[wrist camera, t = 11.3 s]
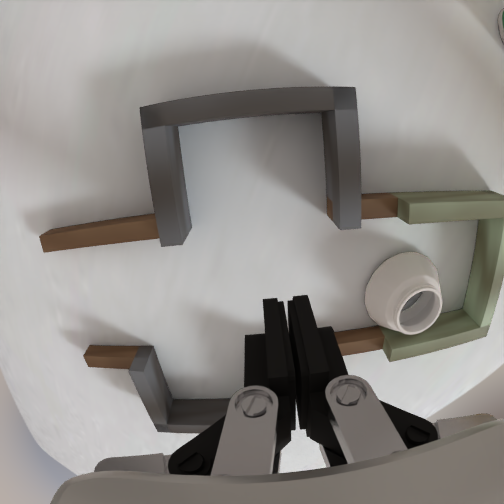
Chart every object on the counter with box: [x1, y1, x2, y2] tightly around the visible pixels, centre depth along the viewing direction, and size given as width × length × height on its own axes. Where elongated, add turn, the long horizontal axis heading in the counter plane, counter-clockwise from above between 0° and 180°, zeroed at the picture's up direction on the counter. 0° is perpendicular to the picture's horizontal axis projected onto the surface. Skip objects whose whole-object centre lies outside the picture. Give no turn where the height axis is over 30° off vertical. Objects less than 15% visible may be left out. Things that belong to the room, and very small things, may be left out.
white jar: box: [365, 252, 442, 335], centre depth 16 cm, size 5×3×5 cm
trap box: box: [39, 87, 504, 433], centre depth 16 cm, size 20×28×2 cm
